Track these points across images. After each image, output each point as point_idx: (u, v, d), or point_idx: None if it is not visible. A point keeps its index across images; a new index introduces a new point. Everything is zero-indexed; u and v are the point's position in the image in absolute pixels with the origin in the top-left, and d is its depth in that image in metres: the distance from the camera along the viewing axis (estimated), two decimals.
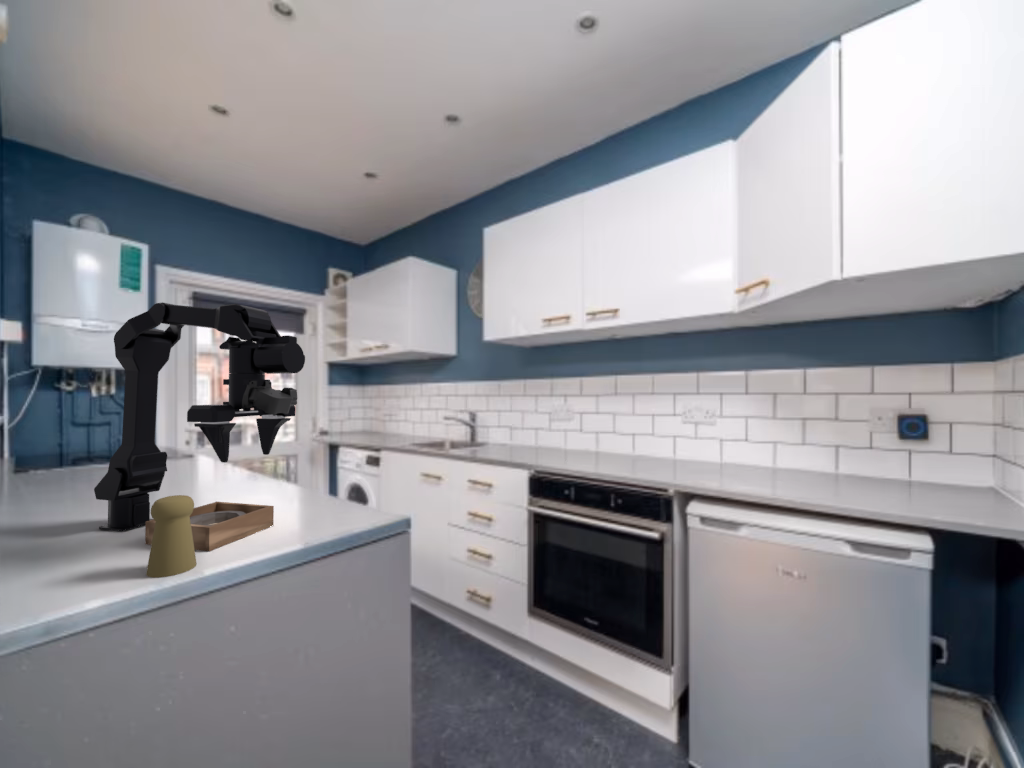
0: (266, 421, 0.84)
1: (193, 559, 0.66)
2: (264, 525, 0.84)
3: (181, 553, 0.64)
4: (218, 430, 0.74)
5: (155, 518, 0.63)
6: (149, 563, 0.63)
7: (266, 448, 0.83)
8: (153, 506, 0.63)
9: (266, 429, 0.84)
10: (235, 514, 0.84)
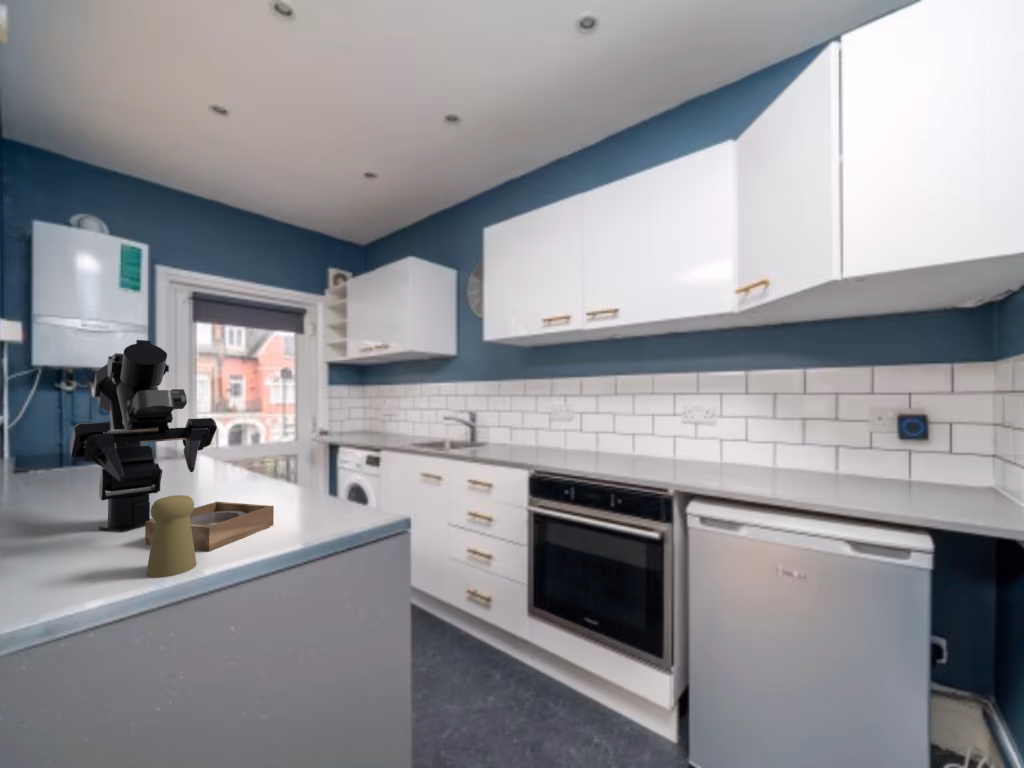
0: (186, 443, 0.77)
1: (193, 559, 0.66)
2: (264, 525, 0.84)
3: (181, 553, 0.64)
4: None
5: (155, 518, 0.63)
6: (149, 563, 0.63)
7: (189, 464, 0.74)
8: (153, 506, 0.63)
9: (187, 449, 0.76)
10: (235, 514, 0.84)
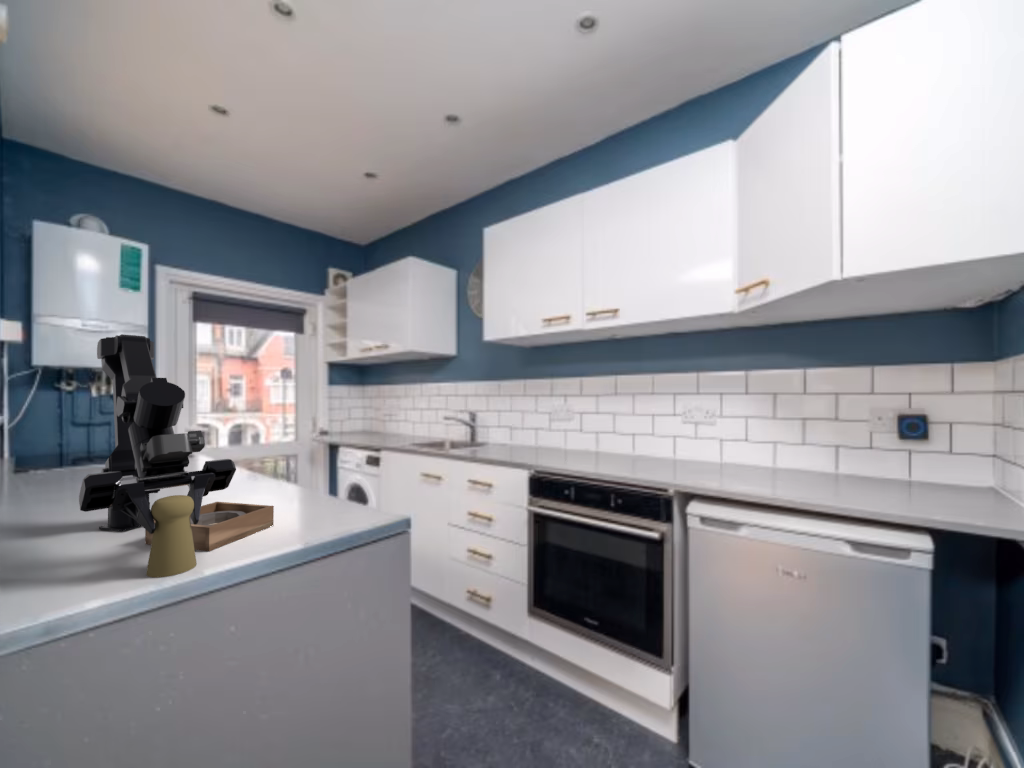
0: (190, 490, 0.70)
1: (193, 559, 0.66)
2: (264, 525, 0.84)
3: (181, 553, 0.64)
4: None
5: (155, 518, 0.63)
6: (149, 563, 0.63)
7: (193, 515, 0.67)
8: (153, 506, 0.63)
9: (191, 497, 0.69)
10: (235, 514, 0.84)
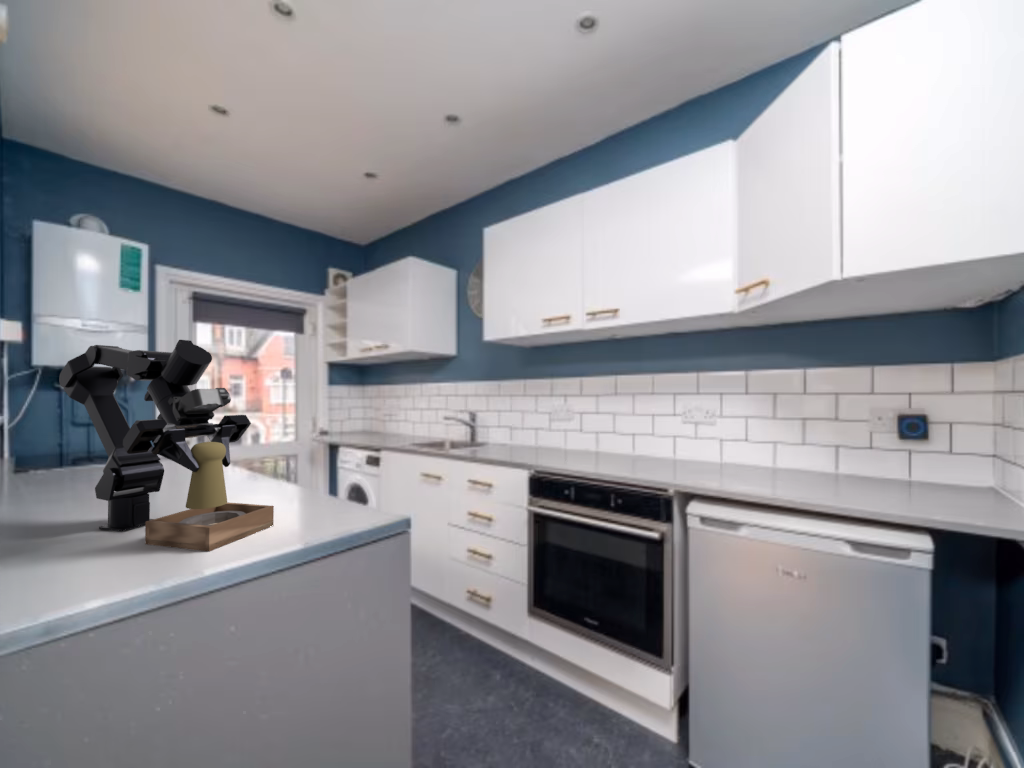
0: (214, 439, 0.80)
1: (226, 495, 0.77)
2: (264, 525, 0.84)
3: (219, 489, 0.75)
4: (175, 446, 0.73)
5: (197, 459, 0.73)
6: (191, 498, 0.73)
7: (224, 459, 0.78)
8: (194, 449, 0.73)
9: None
10: (235, 514, 0.84)
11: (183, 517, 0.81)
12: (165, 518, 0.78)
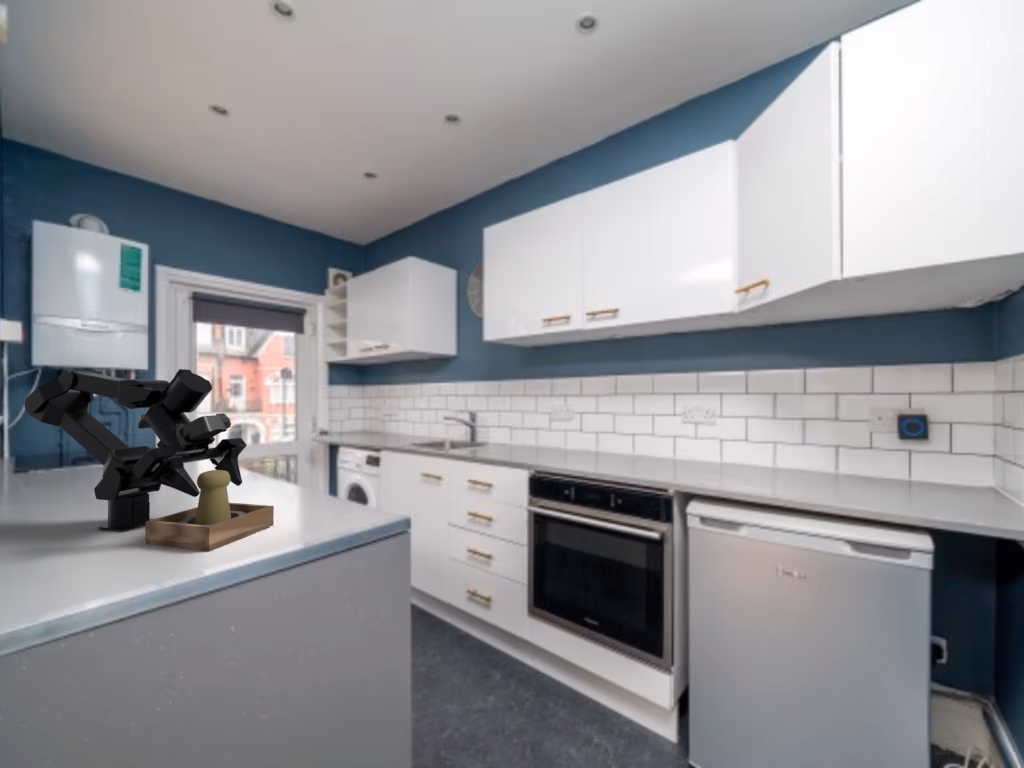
0: (222, 461, 0.86)
1: None
2: (264, 525, 0.84)
3: (226, 514, 0.81)
4: (173, 473, 0.76)
5: (206, 487, 0.78)
6: (200, 524, 0.78)
7: (236, 479, 0.85)
8: (203, 478, 0.78)
9: (226, 466, 0.86)
10: (235, 514, 0.84)
11: (183, 517, 0.81)
12: (165, 518, 0.78)
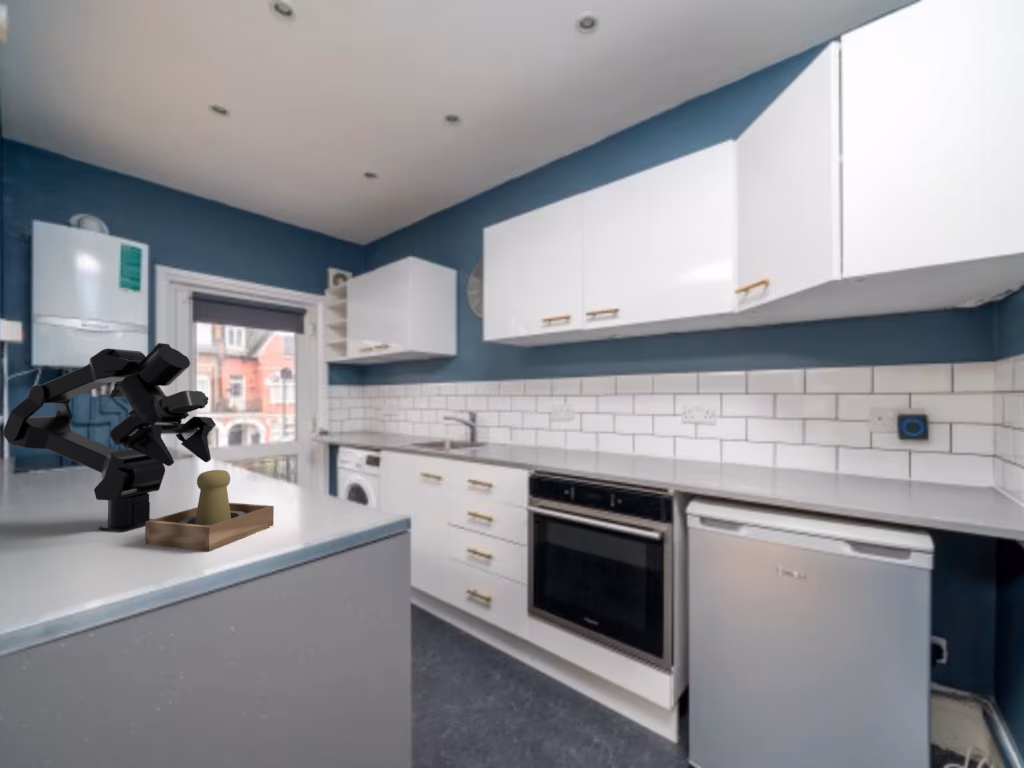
0: (191, 437, 0.89)
1: None
2: (264, 525, 0.84)
3: (226, 514, 0.81)
4: (149, 440, 0.78)
5: (205, 487, 0.78)
6: (200, 524, 0.78)
7: (205, 455, 0.88)
8: (203, 478, 0.78)
9: (195, 443, 0.89)
10: (235, 514, 0.84)
11: (183, 517, 0.81)
12: (165, 518, 0.78)
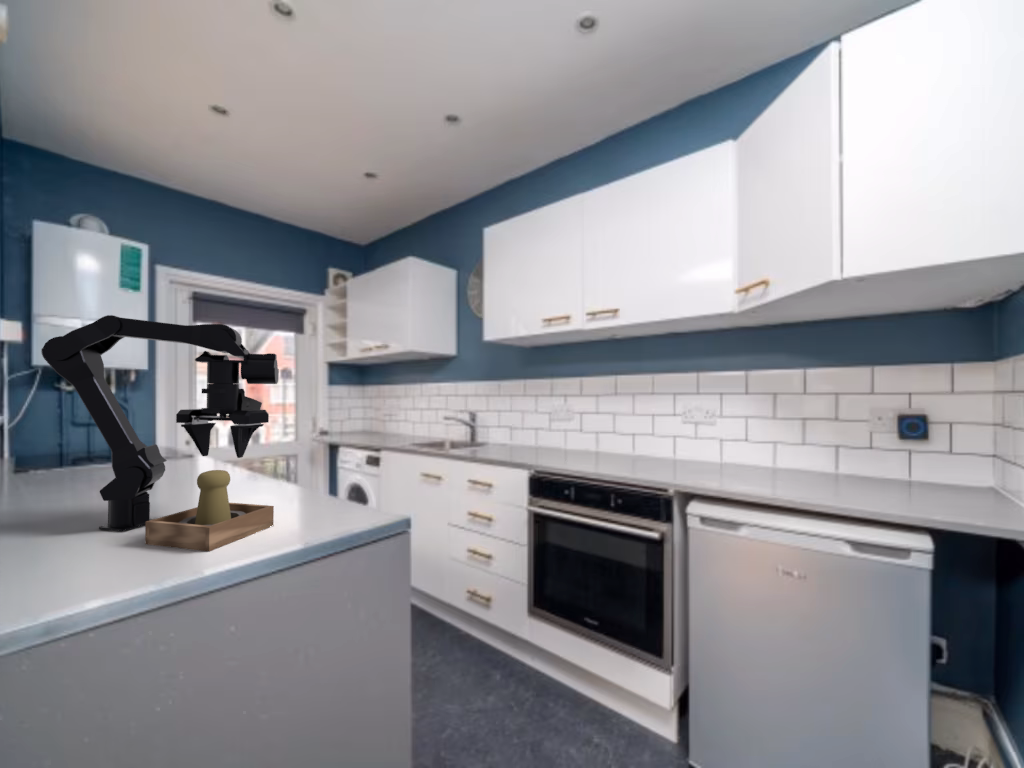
0: (201, 426, 0.92)
1: None
2: (264, 525, 0.84)
3: (226, 514, 0.81)
4: (244, 431, 0.90)
5: (205, 487, 0.78)
6: (200, 524, 0.78)
7: (206, 450, 0.93)
8: (203, 478, 0.78)
9: (203, 433, 0.92)
10: (235, 514, 0.84)
11: (183, 517, 0.81)
12: (165, 518, 0.78)
